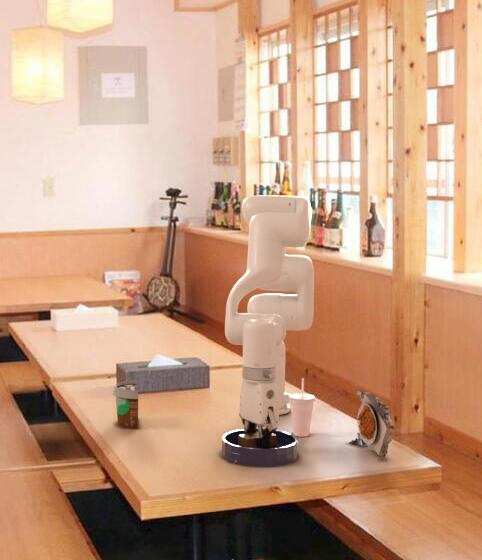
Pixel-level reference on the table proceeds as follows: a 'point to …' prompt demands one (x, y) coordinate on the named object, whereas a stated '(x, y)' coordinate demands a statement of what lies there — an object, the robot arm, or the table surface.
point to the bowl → (260, 450)
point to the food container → (127, 404)
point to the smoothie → (301, 412)
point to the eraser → (254, 440)
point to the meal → (373, 424)
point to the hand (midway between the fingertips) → (257, 450)
